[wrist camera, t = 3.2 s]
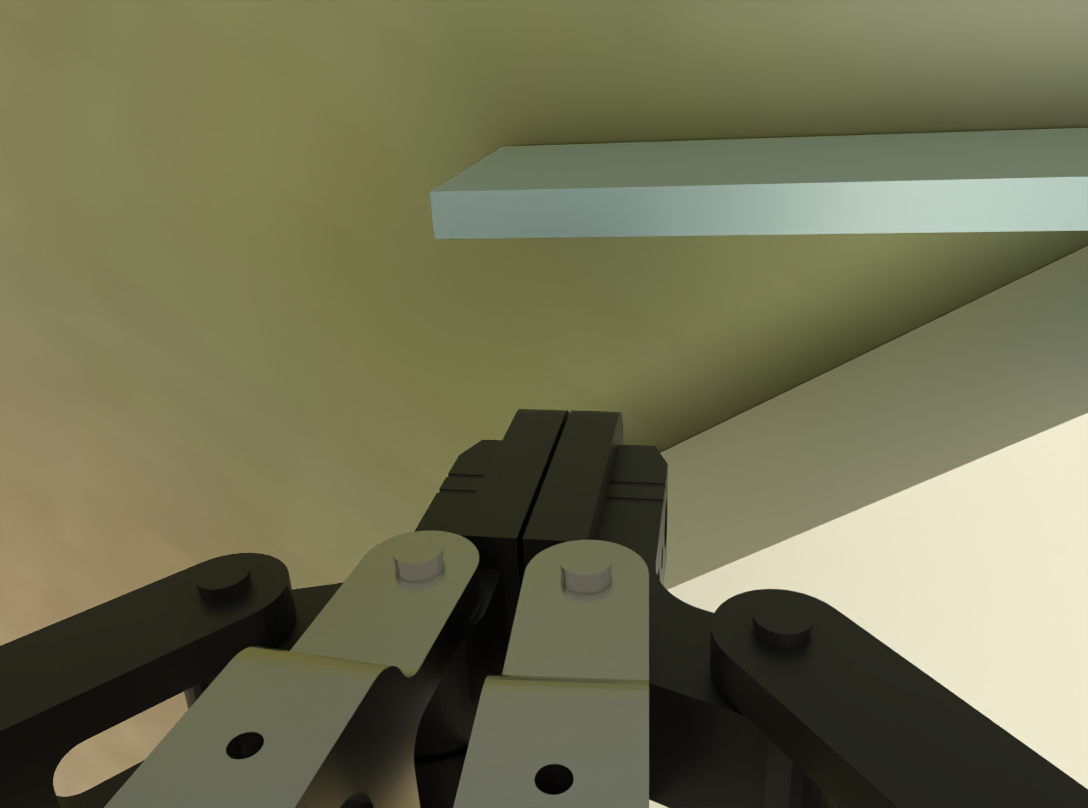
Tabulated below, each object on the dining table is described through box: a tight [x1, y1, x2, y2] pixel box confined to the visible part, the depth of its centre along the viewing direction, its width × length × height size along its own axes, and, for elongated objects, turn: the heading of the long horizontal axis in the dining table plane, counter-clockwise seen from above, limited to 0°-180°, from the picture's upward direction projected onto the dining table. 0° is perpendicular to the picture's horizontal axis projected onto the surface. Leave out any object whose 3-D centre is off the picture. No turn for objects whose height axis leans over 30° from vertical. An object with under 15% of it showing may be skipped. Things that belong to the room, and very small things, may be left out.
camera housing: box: [649, 246, 1088, 808], centre depth 24 cm, size 22×9×9 cm, turn 123°
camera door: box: [430, 128, 1088, 239], centre depth 20 cm, size 19×1×7 cm, turn 93°
